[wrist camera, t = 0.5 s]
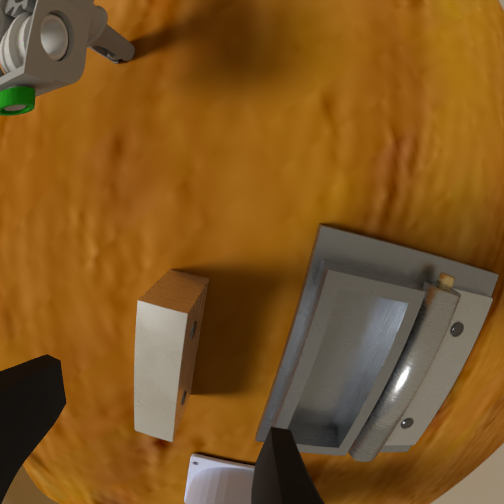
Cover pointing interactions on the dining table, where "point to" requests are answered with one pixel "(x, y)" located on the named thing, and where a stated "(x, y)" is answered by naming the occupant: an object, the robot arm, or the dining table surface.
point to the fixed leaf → (374, 344)
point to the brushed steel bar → (166, 351)
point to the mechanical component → (50, 47)
